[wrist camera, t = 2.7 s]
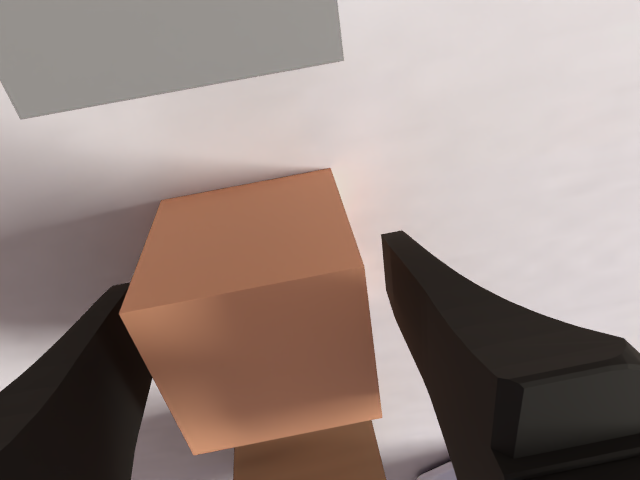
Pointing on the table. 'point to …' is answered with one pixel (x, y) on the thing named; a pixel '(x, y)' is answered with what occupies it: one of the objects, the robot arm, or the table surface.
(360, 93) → the table surface
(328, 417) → the terracotta block
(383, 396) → the table surface
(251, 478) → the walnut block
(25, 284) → the table surface
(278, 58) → the slate grey block
